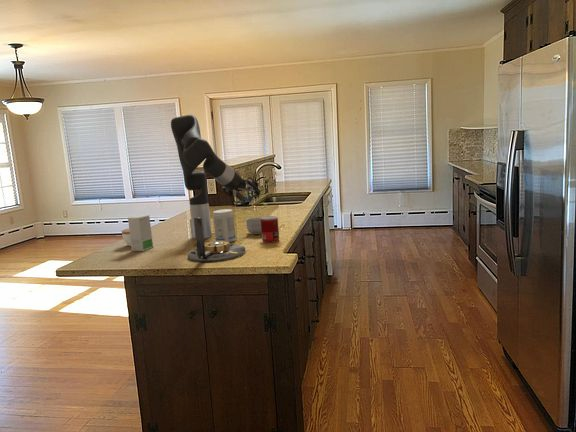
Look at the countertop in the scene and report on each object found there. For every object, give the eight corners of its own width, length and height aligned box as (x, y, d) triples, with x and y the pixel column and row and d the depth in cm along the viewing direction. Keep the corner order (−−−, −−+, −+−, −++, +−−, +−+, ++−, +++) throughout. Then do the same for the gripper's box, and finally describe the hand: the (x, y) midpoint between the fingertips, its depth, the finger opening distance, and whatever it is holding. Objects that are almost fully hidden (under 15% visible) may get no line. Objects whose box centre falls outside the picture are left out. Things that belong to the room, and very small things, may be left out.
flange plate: (175, 259, 190) (174, 248, 189) (211, 246, 210) (210, 235, 210) (223, 263, 178) (222, 251, 177) (256, 249, 199) (255, 237, 198)
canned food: (277, 242, 209) (275, 218, 208) (260, 242, 211) (258, 219, 209) (280, 238, 217) (279, 215, 215) (264, 239, 218) (262, 216, 217)
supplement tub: (233, 238, 226) (230, 208, 224) (238, 241, 217) (235, 210, 215) (213, 240, 223) (210, 210, 220) (217, 244, 214) (214, 213, 212)
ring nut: (211, 246, 201) (207, 210, 198) (233, 246, 197) (230, 209, 195) (187, 258, 182) (183, 218, 179) (212, 259, 179) (208, 218, 176)
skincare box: (142, 251, 210) (138, 217, 207) (130, 251, 212) (126, 217, 209) (153, 247, 217) (150, 214, 215) (142, 246, 220) (138, 214, 217)
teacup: (243, 235, 230) (242, 219, 229) (253, 231, 240) (251, 216, 239) (268, 236, 225) (267, 219, 224) (277, 231, 235) (276, 216, 234)
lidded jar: (124, 248, 218) (122, 229, 217) (122, 244, 228) (120, 226, 226) (147, 245, 222) (145, 226, 221) (145, 241, 232) (143, 223, 230)
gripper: (242, 163, 175) (266, 184, 187) (213, 172, 182) (238, 192, 194) (239, 179, 171) (264, 200, 183) (210, 188, 178) (236, 207, 190)
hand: (250, 196), depth 188 cm, fingers open, 8 cm apart
